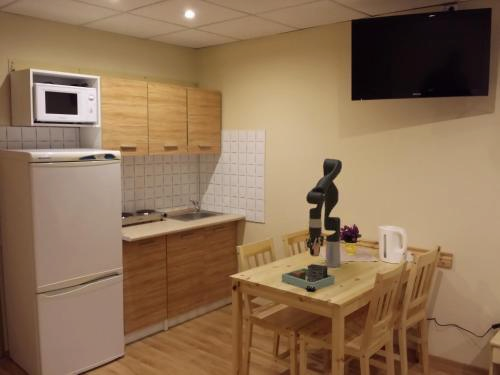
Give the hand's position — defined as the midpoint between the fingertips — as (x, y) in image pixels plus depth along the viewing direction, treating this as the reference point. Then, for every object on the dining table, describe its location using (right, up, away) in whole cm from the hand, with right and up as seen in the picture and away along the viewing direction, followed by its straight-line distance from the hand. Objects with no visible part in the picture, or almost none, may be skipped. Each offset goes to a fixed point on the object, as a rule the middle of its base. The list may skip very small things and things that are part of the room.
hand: (314, 254), depth 275 cm
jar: (0, -1, 0) cm, 1 cm away
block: (-9, -17, +4) cm, 20 cm away
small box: (+2, -18, +1) cm, 18 cm away
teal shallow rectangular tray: (-4, -17, +2) cm, 18 cm away
